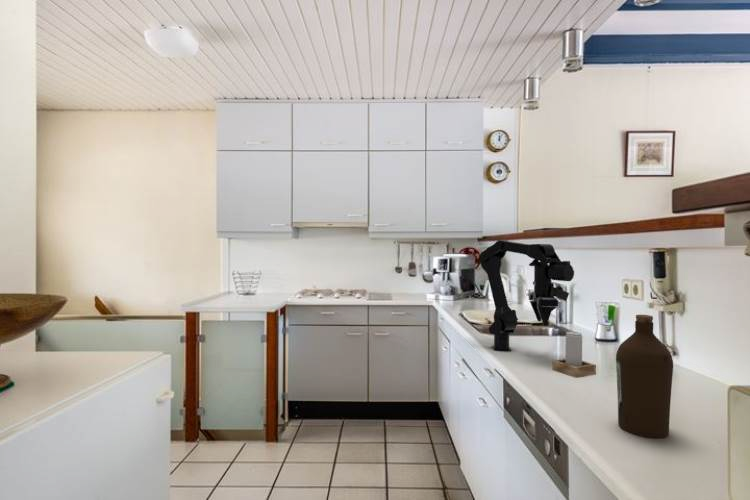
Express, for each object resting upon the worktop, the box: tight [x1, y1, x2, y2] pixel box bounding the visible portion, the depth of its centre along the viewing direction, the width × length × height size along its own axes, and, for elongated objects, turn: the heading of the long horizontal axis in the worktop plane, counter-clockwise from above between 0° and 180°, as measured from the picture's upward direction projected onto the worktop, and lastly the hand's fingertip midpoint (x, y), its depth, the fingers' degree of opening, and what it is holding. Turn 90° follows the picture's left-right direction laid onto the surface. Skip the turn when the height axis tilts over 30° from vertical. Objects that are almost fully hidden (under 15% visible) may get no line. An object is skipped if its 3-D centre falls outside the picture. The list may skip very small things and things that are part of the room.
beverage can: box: [564, 331, 583, 367], centre depth 136 cm, size 5×5×12 cm
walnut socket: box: [551, 358, 597, 378], centre depth 136 cm, size 9×9×3 cm
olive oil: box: [615, 314, 674, 439], centre depth 93 cm, size 11×11×25 cm
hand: (542, 323), depth 149 cm, fingers open, 9 cm apart
